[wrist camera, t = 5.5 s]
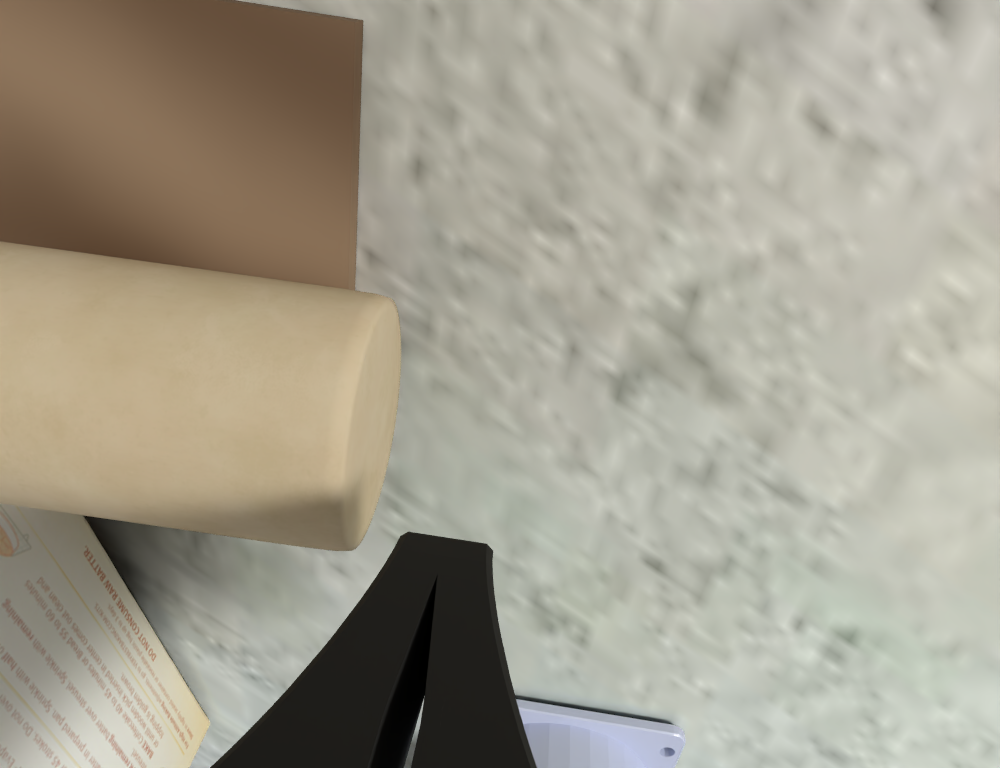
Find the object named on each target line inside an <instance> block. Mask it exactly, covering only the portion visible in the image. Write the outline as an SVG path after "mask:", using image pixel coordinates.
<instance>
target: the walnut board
mask: <svg viewBox="0 0 1000 768" xmlns="http://www.w3.org/2000/svg"><path fill="white" fill-rule="evenodd" d="M362 43H363V20H358V19H351V18H345V17H338V16H332V15H325V14H319V13H313V12H306V11H300V10H293V9H287V8H281V7H274V6H268V5H261V4H255V3H249V2H242V1H236V0H0V242H8V243H15V244H23V245H30V246H37V247H45V248H52V249H59V250H66V251H74V252H81V253H88V254H95V255H103V256H110V257H117V258H124V259H132V260H139V261H146V262H153V263H161V264H168V265H175V266H182V267H190V268H197V269H204V270H211V271H219V272H226V273H233V274H240V275H248V276H255V277H262V278H269V279H277V280H284V281H291V282H299V283H306V284H313V285H320V286H328V287H335V288H342V289H348V290H354V291H355V274H356V241H357V208H358V175H359V142H360V109H361V76H362Z"/></svg>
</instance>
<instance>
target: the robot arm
mask: <svg viewBox="0 0 1000 768" xmlns="http://www.w3.org/2000/svg"><path fill="white" fill-rule="evenodd" d="M492 558H493V550H492V549H491V548H490V547H489V546H488V545H487V544H484V543H478V542H471V541H465V540H458V539H452V538H445V537H439V536H432V535H426V534H419V533H413V532H407V533H405V534H404V535H402V536H400V538H399V540H398V542H397V544H396V546H395V548H394V549H393V551H392V553H391V554H390V556H389V558H388V559H387V561H386V563H385V564H384V566H383V568H382V569H381V571H380V572H379V574H378V575H377V577H376V578H375V580H374V581H373V583H372V584H371V585H370V587H369V588H368V590H367V591H366V593H365V594H364V595H363V597H362V598H361V600H360V601H359V602H358V604H357V605H356V606H355V608H354V609H353V610H352V612H351V613H350V614H349V616H348V617H347V618H346V619H345V621H344V622H343V623H342V625H341V626H340V627H339V629H338V630H337V631H336V633H335V634H334V635H333V636H332V638H331V639H330V640H329V641H328V643H327V644H326V645H325V646H324V648H323V649H322V650H321V651H320V652H319V653H318V655H317V656H316V657H315V658H314V659H313V660H312V662H311V663H310V664H309V665H308V666H307V667H306V669H305V670H304V671H303V672H302V673H301V674H300V676H299V677H298V678H297V679H296V680H295V681H294V683H293V684H292V685H291V686H290V687H289V688H288V689H287V690H286V692H285V693H284V694H283V695H282V696H281V697H280V698H279V699H278V700H277V701H276V702H275V703H274V705H273V706H272V707H271V708H270V709H269V710H268V711H267V712H266V713H265V714H264V715H263V716H262V717H261V718H260V719H259V720H258V721H257V722H256V723H255V724H254V725H253V726H252V727H251V728H250V729H249V730H248V731H247V733H246V734H245V735H244V736H243V737H242V738H241V739H240V740H239V741H238V742H237V743H236V744H235V745H234V746H233V747H232V748H230V749H229V750H228V751H227V752H226V753H225V754H224V755H223V756H222V757H221V758H220V759H219V760H218V761H217V762H216V763H215V764H214V765H212V766H211V767H210V768H404V765H405V761H406V758H407V754H408V751H409V747H410V744H411V741H412V737H413V734H414V730H415V727H416V723H417V720H418V716H419V713H420V709H421V706H422V702H423V699H424V705H423V712H422V718H421V725H420V729H419V734H418V739H417V743H416V748H415V752H414V757H413V761H412V766H411V768H675V766H676V764H677V762H678V759H679V757H680V755H681V753H682V750H683V748H684V746H685V734H684V731H683V730H682V729H681V728H680V727H678V726H675V725H672V724H666V723H659V722H653V721H647V720H641V719H635V718H629V717H623V716H617V715H611V714H605V713H599V712H593V711H587V710H580V709H574V708H568V707H562V706H556V705H550V704H544V703H538V702H532V701H526V700H520V699H516V698H515V694H514V690H513V686H512V682H511V678H510V674H509V670H508V665H507V661H506V656H505V652H504V647H503V643H502V638H501V633H500V628H499V623H498V617H497V610H496V603H495V595H494V586H493V568H492ZM424 695H425V697H424Z"/></svg>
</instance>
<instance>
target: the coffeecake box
mask: <svg viewBox="0 0 1000 768" xmlns="http://www.w3.org/2000/svg"><path fill="white" fill-rule="evenodd" d="M209 725H210V721H209V719H208V718H207V716H206V715H205V713H204V712H203V710H202V709H201V707H200V705H199V704H198V702H197V701H196V699H195V697H194V696H193V694H192V693H191V691H190V689H189V688H188V686H187V685H186V683H185V681H184V680H183V678H182V676H181V675H180V673H179V671H178V669H177V668H176V666H175V664H174V663H173V661H172V660H171V658H170V656H169V655H168V653H167V652H166V650H165V649H164V647H163V645H162V644H161V642H160V640H159V639H158V637H157V635H156V634H155V632H154V630H153V629H152V627H151V625H150V624H149V622H148V621H147V619H146V617H145V616H144V614H143V612H142V611H141V609H140V607H139V606H138V604H137V603H136V601H135V599H134V598H133V596H132V594H131V593H130V591H129V590H128V588H127V586H126V585H125V583H124V582H123V580H122V578H121V577H120V575H119V574H118V572H117V570H116V568H115V567H114V565H113V563H112V561H111V560H110V558H109V557H108V555H107V553H106V552H105V550H104V549H103V547H102V545H101V544H100V542H99V540H98V539H97V537H96V535H95V534H94V532H93V530H92V529H91V527H90V525H89V524H88V522H87V520H86V519H85V517H84V516H83V515H77V514H70V513H63V512H56V511H50V510H43V509H36V508H29V507H22V506H15V505H8V504H1V503H0V768H189V767H190V765H191V763H192V761H193V759H194V757H195V755H196V753H197V751H198V748H199V746H200V744H201V742H202V740H203V738H204V736H205V734H206V732H207V730H208V728H209Z"/></svg>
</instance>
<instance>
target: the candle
mask: <svg viewBox="0 0 1000 768" xmlns="http://www.w3.org/2000/svg"><path fill="white" fill-rule="evenodd" d="M400 372H401V334H400V321H399V315H398V310H397V307H396V304H395V302H394V301H393V300H392V299H391V298H388V297H384V296H381V295H378V294H373V293H367V292H360V291H354V290H348V289H342V288H335V287H328V286H320V285H313V284H306V283H299V282H291V281H284V280H277V279H269V278H262V277H255V276H248V275H240V274H233V273H226V272H219V271H211V270H204V269H197V268H190V267H182V266H175V265H168V264H161V263H153V262H146V261H139V260H132V259H124V258H117V257H110V256H103V255H95V254H88V253H81V252H74V251H66V250H59V249H52V248H45V247H37V246H30V245H23V244H15V243H8V242H0V503H1V504H8V505H15V506H22V507H29V508H36V509H43V510H50V511H56V512H63V513H70V514H77V515H84V516H91V517H98V518H105V519H112V520H119V521H126V522H133V523H140V524H147V525H154V526H160V527H167V528H174V529H181V530H188V531H195V532H202V533H209V534H216V535H223V536H230V537H237V538H244V539H251V540H258V541H265V542H271V543H278V544H285V545H292V546H300V547H308V548H316V549H324V550H332V551H352V550H354V549H356V548H357V547H358V546H359V544H360V543H361V541H362V540H363V538H364V536H365V534H366V532H367V530H368V527H369V525H370V523H371V520H372V517H373V515H374V512H375V509H376V506H377V503H378V500H379V496H380V493H381V489H382V486H383V482H384V478H385V474H386V470H387V465H388V460H389V456H390V451H391V445H392V440H393V434H394V428H395V421H396V414H397V406H398V397H399V386H400Z"/></svg>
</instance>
